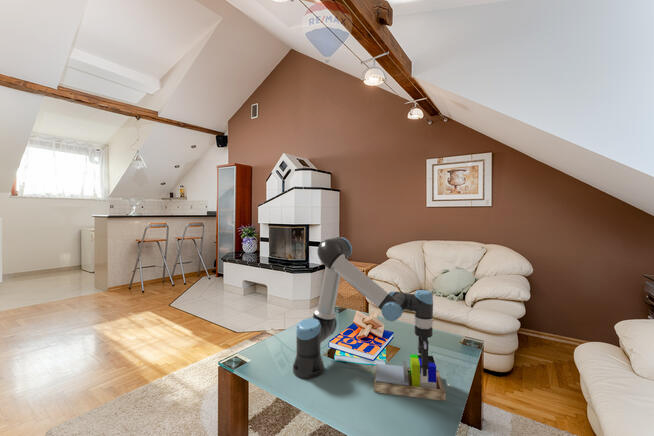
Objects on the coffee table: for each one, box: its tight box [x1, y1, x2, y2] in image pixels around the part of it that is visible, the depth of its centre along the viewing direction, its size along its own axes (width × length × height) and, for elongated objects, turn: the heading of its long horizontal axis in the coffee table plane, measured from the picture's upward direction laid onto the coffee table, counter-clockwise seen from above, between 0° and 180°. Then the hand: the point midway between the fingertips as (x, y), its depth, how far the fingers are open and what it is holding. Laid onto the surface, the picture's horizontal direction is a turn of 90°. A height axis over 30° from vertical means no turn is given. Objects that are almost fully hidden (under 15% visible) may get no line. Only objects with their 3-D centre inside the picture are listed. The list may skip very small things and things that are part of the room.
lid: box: [375, 360, 409, 386], centre depth 136 cm, size 14×14×4 cm
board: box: [373, 363, 447, 402], centre depth 135 cm, size 29×18×3 cm, turn 79°
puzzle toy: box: [409, 353, 437, 389], centre depth 134 cm, size 10×10×10 cm
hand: (422, 374), depth 134 cm, fingers open, 11 cm apart
